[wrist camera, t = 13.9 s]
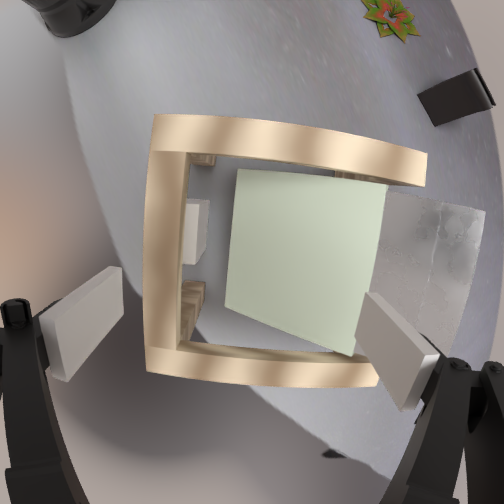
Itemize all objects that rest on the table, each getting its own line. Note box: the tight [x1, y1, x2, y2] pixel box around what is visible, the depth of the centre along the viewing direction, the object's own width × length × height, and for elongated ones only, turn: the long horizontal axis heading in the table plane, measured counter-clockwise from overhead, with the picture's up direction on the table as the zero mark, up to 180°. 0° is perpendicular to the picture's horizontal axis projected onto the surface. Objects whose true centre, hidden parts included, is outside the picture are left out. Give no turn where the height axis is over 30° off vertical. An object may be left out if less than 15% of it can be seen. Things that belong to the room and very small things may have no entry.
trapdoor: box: [225, 169, 486, 357], centre depth 29 cm, size 25×16×6 cm
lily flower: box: [361, 0, 420, 43], centre depth 33 cm, size 12×12×5 cm
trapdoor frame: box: [143, 114, 427, 388], centre depth 33 cm, size 23×23×20 cm
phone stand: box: [418, 68, 496, 126], centre depth 32 cm, size 9×6×12 cm, turn 122°
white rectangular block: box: [182, 198, 210, 265], centre depth 38 cm, size 6×7×9 cm
